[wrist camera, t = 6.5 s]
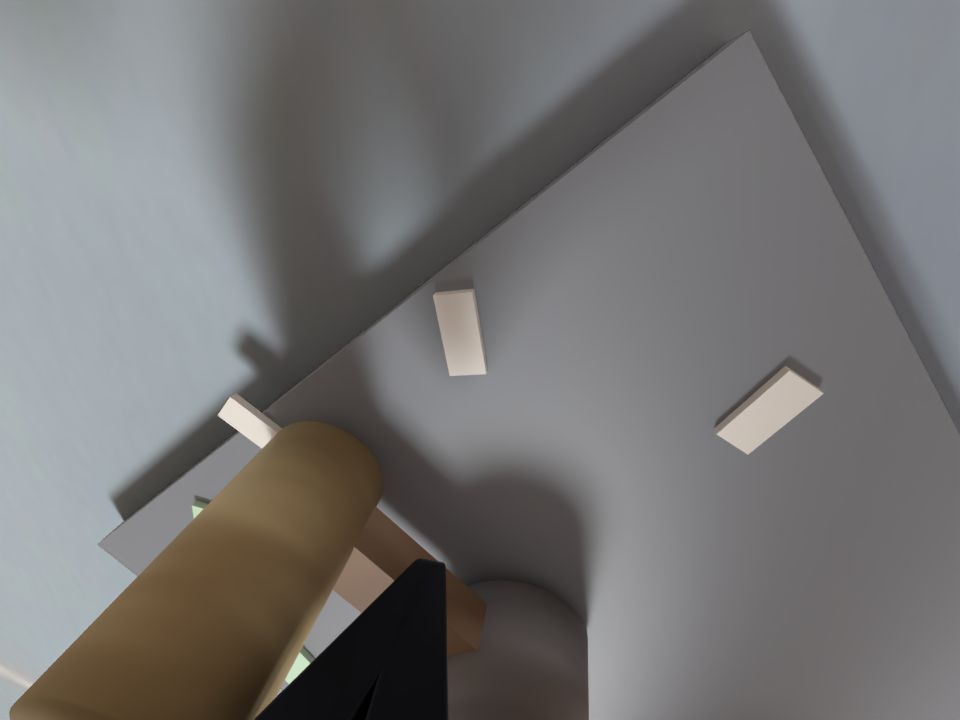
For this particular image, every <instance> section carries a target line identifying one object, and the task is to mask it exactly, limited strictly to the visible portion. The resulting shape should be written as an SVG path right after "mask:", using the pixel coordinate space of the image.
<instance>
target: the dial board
mask: <svg viewBox="0 0 960 720" xmlns="http://www.w3.org/2000/svg"><path fill="white" fill-rule="evenodd" d="M217 416H219V417H220V418H221V419H223V420H224V421H225V422H227V423H228V424H229V425H231V426H232V427H233V428H235V429H236V430H238V431H237V432H236V433H235V434H233V435H232V436H231V437H230V438H228V439H227V440H226V441H224V442H223V443H222V444H221V445H219V446H218V447H217V448H216V449H214V450H213V451H212V452H211V453H209V454H208V455H207V456H206V457H204V458H203V459H202V460H201V461H199V462H198V463H197V464H195V465H194V466H193V467H192V468H190V469H189V470H188V471H187V472H185V473H184V474H183V475H182V476H180V477H179V478H178V479H177V480H175V481H174V482H173V483H172V484H170V485H169V486H168V487H166V488H165V489H164V490H163V491H161V492H160V493H159V494H158V495H156V496H155V497H154V498H153V499H151V500H150V501H149V502H148V503H146V504H145V505H144V506H143V507H141V508H140V509H139V510H137V511H136V512H135V513H134V514H132V515H131V516H130V517H129V518H127V519H126V520H125V521H124V522H122V523H121V524H120V525H119V526H118V527H117V528H116V529H114V530H113V531H112V532H111V533H110V534H109V535H108V536H106V537H105V538H104V539H103V540H102V541H101V542H100V543H98V544H97V545H99V546H100V547H101V548H102V549H104V550H105V551H106V552H107V553H109V554H110V555H111V556H113V557H114V558H115V559H116V560H118V561H119V562H120V563H121V564H123V565H124V566H125V567H127V568H128V569H129V570H130V571H132V572H133V573H134V574H135V575H137V576H139V575H140V574H141V573H142V572H143V571H144V570H145V569H146V568H147V567H148V566H149V565H150V564H151V562H152V561H153V560H154V559H155V558H156V557H157V556H158V555H159V554H160V553H161V552H162V551H163V550H164V549H165V548H166V547H167V546H168V545H169V544H170V543H171V542H172V541H173V540H174V539H175V538H176V537H177V536H178V535H179V534H180V533H181V532H182V531H183V530H184V529H185V527H186V526H187V525H188V524H189V523H190V522H191V521H192V520H193V519H194V518H195V517H196V516H197V515H198V514H199V513H200V512H201V511H202V510H203V509H204V508H205V507H206V506H207V505H208V504H209V503H210V502H211V501H212V500H213V499H214V498H215V497H216V496H217V495H218V494H219V492H220V491H221V490H222V489H223V488H224V487H225V486H226V485H227V484H228V483H229V482H230V481H231V480H232V479H233V478H234V477H235V476H236V475H237V474H238V473H239V472H240V471H241V470H242V469H243V468H244V467H245V466H246V465H247V464H248V463H249V462H250V461H251V460H252V459H253V457H254V456H255V455H256V454H257V453H258V452H259V451H260V450H261V449H262V448H263V447H264V446H265V445H266V444H267V443H268V442H269V441H270V440H271V439H272V438H273V437H274V436H275V435H276V434H277V433H278V432H279V431H280V430H281V429H283V428H284V427H286V426H288V425H290V424H293V423H296V422H302V421H315V422H322V423H326V424H330V425H333V426H336V427H338V428H340V429H342V430H344V431H346V432H348V433H350V434H351V435H353V436H354V437H356V438H357V439H358V440H359V441H361V442H362V443H363V444H364V445H365V446H366V447H367V448H368V449H369V450H370V452H371V453H372V454H373V455H374V457H375V459H376V460H377V462H378V464H379V466H380V468H381V471H382V474H383V480H384V489H383V494H382V497H381V499H380V501H379V503H378V505H377V508H378V509H379V510H381V511H382V512H383V513H384V514H385V515H386V516H387V517H389V518H390V519H391V520H392V521H393V522H394V523H395V524H397V525H398V526H399V527H400V528H401V529H402V530H403V531H404V532H406V533H407V534H408V535H409V536H410V537H411V538H412V539H414V540H415V541H416V542H417V543H418V544H419V545H420V546H422V547H423V548H424V549H425V550H426V551H427V552H428V553H430V554H431V555H432V556H433V557H434V558H435V559H436V560H437V561H439V562H443V563H445V565H446V568H447V569H448V570H449V571H450V572H451V573H452V574H453V575H455V576H456V577H457V578H458V579H459V580H460V581H461V582H463V583H464V584H465V585H466V586H467V587H468V586H470V585H473V584H476V583H479V582H484V581H491V580H509V581H517V582H522V583H527V584H531V585H534V586H537V587H540V588H542V589H544V590H547V591H549V592H551V593H553V594H555V595H557V596H558V597H560V598H561V599H563V600H564V601H565V602H567V603H568V604H569V605H570V606H571V607H572V608H573V609H574V610H575V611H576V612H577V613H578V614H579V616H580V617H581V618H582V620H583V622H584V624H585V627H586V630H587V635H588V686H589V720H960V434H959V432H958V430H957V428H956V426H955V424H954V422H953V420H952V418H951V416H950V414H949V412H948V410H947V409H946V407H945V405H944V403H943V401H942V399H941V397H940V395H939V393H938V391H937V389H936V387H935V386H934V384H933V382H932V380H931V378H930V376H929V374H928V372H927V370H926V368H925V366H924V364H923V363H922V361H921V359H920V357H919V355H918V353H917V351H916V349H915V347H914V345H913V343H912V341H911V340H910V338H909V336H908V334H907V332H906V330H905V328H904V326H903V324H902V322H901V320H900V318H899V317H898V315H897V313H896V311H895V309H894V307H893V305H892V303H891V301H890V299H889V297H888V295H887V294H886V292H885V290H884V288H883V286H882V284H881V282H880V280H879V278H878V276H877V274H876V272H875V271H874V269H873V267H872V265H871V263H870V261H869V259H868V257H867V255H866V253H865V251H864V249H863V247H862V246H861V244H860V242H859V240H858V238H857V236H856V234H855V232H854V230H853V228H852V226H851V224H850V223H849V221H848V219H847V217H846V215H845V213H844V211H843V209H842V207H841V205H840V203H839V201H838V200H837V198H836V196H835V194H834V192H833V190H832V188H831V186H830V184H829V182H828V180H827V178H826V177H825V175H824V173H823V171H822V169H821V167H820V165H819V163H818V161H817V159H816V157H815V155H814V154H813V152H812V150H811V148H810V146H809V144H808V142H807V140H806V138H805V136H804V134H803V132H802V131H801V129H800V127H799V125H798V123H797V121H796V119H795V117H794V115H793V113H792V111H791V109H790V108H789V106H788V104H787V102H786V100H785V98H784V96H783V94H782V92H781V90H780V88H779V86H778V84H777V83H776V81H775V79H774V77H773V75H772V73H771V71H770V69H769V67H768V65H767V63H766V61H765V60H764V58H763V56H762V54H761V52H760V50H759V48H758V46H757V44H756V42H755V40H754V38H753V37H752V35H751V33H750V31H747V32H745V33H743V34H741V35H739V36H738V37H736V38H734V39H732V40H730V41H729V42H727V43H726V44H725V45H724V46H722V47H721V48H720V49H719V50H717V51H716V52H715V53H714V54H712V55H711V56H710V57H709V58H707V59H706V60H705V61H704V62H702V63H701V64H700V65H698V66H697V67H696V68H695V69H693V70H692V71H691V72H690V73H688V74H687V75H686V76H685V77H683V78H682V79H681V80H680V81H678V82H677V83H676V84H675V85H673V86H672V87H671V88H669V89H668V90H667V91H666V92H664V93H663V94H662V95H661V96H659V97H658V98H657V99H656V100H654V101H653V102H652V103H651V104H649V105H648V106H647V107H646V108H644V109H643V110H642V111H640V112H639V113H638V114H637V115H635V116H634V117H633V118H632V119H630V120H629V121H628V122H627V123H625V124H624V125H623V126H622V127H620V128H619V129H618V130H617V131H615V132H614V133H613V134H612V135H610V136H609V137H608V138H606V139H605V140H604V141H603V142H601V143H600V144H599V145H598V146H596V147H595V148H594V149H593V150H591V151H590V152H589V153H588V154H586V155H585V156H584V157H583V158H581V159H580V160H579V161H577V162H576V163H575V164H574V165H572V166H571V167H570V168H569V169H567V170H566V171H565V172H564V173H562V174H561V175H560V176H559V177H557V178H556V179H555V180H554V181H552V182H551V183H550V184H548V185H547V186H546V187H545V188H543V189H542V190H541V191H540V192H538V193H537V194H536V195H535V196H533V197H532V198H531V199H530V200H528V201H527V202H526V203H525V204H523V205H522V206H521V207H519V208H518V209H517V210H516V211H514V212H513V213H512V214H511V215H509V216H508V217H507V218H506V219H504V220H503V221H502V222H501V223H499V224H498V225H497V226H496V227H494V228H493V229H492V230H490V231H489V232H488V233H487V234H485V235H484V236H483V237H482V238H480V239H479V240H478V241H477V242H475V243H474V244H473V245H472V246H470V247H469V248H468V249H467V250H465V251H464V252H463V253H461V254H460V255H459V256H458V257H456V258H455V259H454V260H453V261H451V262H450V263H449V264H448V265H446V266H445V267H444V268H443V269H441V270H440V271H439V272H438V273H436V274H435V275H434V276H432V277H431V278H430V279H429V280H427V281H426V282H425V283H424V284H422V285H421V286H420V287H419V288H417V289H416V290H415V291H414V292H412V293H411V294H410V295H409V296H407V297H406V298H405V299H403V300H402V301H401V302H400V303H398V304H397V305H396V306H395V307H393V308H392V309H391V310H390V311H388V312H387V313H386V314H385V315H383V316H382V317H381V318H380V319H378V320H377V321H376V322H374V323H373V324H372V325H371V326H369V327H368V328H367V329H366V330H364V331H363V332H362V333H361V334H359V335H358V336H357V337H356V338H354V339H353V340H352V341H351V342H349V343H348V344H347V345H345V346H344V347H343V348H342V349H340V350H339V351H338V352H337V353H335V354H334V355H333V356H332V357H330V358H329V359H328V360H327V361H325V362H324V363H323V364H322V365H320V366H319V367H318V368H316V369H315V370H314V371H313V372H311V373H310V374H309V375H308V376H306V377H305V378H304V379H303V380H301V381H300V382H299V383H298V384H296V385H295V386H294V387H293V388H291V389H290V390H289V391H287V392H286V393H285V394H284V395H282V396H281V397H280V398H279V399H277V400H276V401H275V402H274V403H272V404H271V405H270V406H269V407H267V408H266V409H265V410H264V411H262V412H260V411H259V410H257V409H256V408H255V407H253V406H252V405H251V404H250V403H248V402H247V401H246V400H244V399H243V398H242V397H240V396H239V395H238V394H236V393H235V394H233V395H232V396H231V397H230V398H229V399H228V401H227V402H226V404H225V405H224V407H223V408H222V410H221V411H220V412H219V414H218V415H217ZM360 614H361V612H360V611H358V610H357V609H356V608H355V607H353V606H352V605H351V604H350V603H348V602H347V601H346V600H345V599H344V598H342V597H341V596H340V595H339V594H337V593H336V592H335V591H334V590H332V592H331V594H330V596H329V598H328V599H327V601H326V603H325V605H324V607H323V609H322V611H321V613H320V615H319V616H318V618H317V620H316V622H315V624H314V626H313V628H312V630H311V632H310V633H309V635H308V637H307V639H306V641H305V643H304V645H303V647H302V649H301V651H300V652H299V654H298V656H297V658H296V660H295V662H294V664H293V666H292V668H291V669H290V671H289V673H288V675H287V677H286V679H285V681H284V683H283V685H282V686H281V688H280V689H281V690H282V691H283V690H284V689H285V688H286V687H287V686H288V685H289V684H290V683H291V682H292V681H293V680H294V679H295V678H296V677H297V676H298V675H299V674H300V673H301V672H302V671H303V670H304V669H305V668H306V667H307V666H308V665H309V664H310V663H311V662H312V661H313V660H314V659H315V658H316V657H317V656H318V655H319V654H321V653H322V652H323V651H324V650H325V649H326V648H327V647H328V646H329V645H330V644H331V643H332V642H333V641H334V640H335V639H336V638H337V637H338V636H339V635H340V634H341V633H342V632H343V631H344V630H345V629H346V628H347V627H348V626H349V625H350V624H351V623H352V622H353V621H354V620H355V619H356V618H357V617H358V616H359V615H360Z"/></svg>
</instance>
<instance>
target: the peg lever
mask: <svg viewBox="0 0 960 720" xmlns="http://www.w3.org/2000/svg"><path fill="white" fill-rule="evenodd" d="M383 489H384V480H383V474H382V471H381V468H380V466H379V464H378V462H377V460H376V459H375V457H374V455H373V454H372V453H371V452H370V450H369V449H368V448H367V447H366V446H365V445H364V444H363V443H362V442H361V441H359V440H358V439H357V438H356V437H354V436H353V435H351V434H350V433H348V432H346V431H344V430H342V429H340V428H338V427H336V426H333V425H330V424H326V423H322V422H315V421H302V422H296V423H293V424H290V425H288V426H286V427H284V428H283V429H281V430H280V431H279V432H278V433H277V434H276V435H275V436H274V437H273V438H272V439H271V440H270V441H269V442H268V443H267V444H266V445H265V446H264V447H263V448H262V449H261V450H260V451H259V452H258V453H257V454H256V455H255V456H254V457H253V459H252V460H251V461H250V462H249V463H248V464H247V465H246V466H245V467H244V468H243V469H242V470H241V471H240V472H239V473H238V474H237V475H236V476H235V477H234V478H233V479H232V480H231V481H230V482H229V483H228V484H227V485H226V486H225V487H224V488H223V489H222V490H221V491H220V492H219V494H218V495H217V496H216V497H215V498H214V499H213V500H212V501H211V502H210V503H209V504H208V505H207V506H206V507H205V508H204V509H203V510H202V511H201V512H200V513H199V514H198V515H197V516H196V517H195V518H194V519H193V520H192V521H191V522H190V523H189V524H188V525H187V526H186V527H185V529H184V530H183V531H182V532H181V533H180V534H179V535H178V536H177V537H176V538H175V539H174V540H173V541H172V542H171V543H170V544H169V545H168V546H167V547H166V548H165V549H164V550H163V551H162V552H161V553H160V554H159V555H158V556H157V557H156V558H155V559H154V560H153V561H152V562H151V564H150V565H149V566H148V567H147V568H146V569H145V570H144V571H143V572H142V573H141V574H140V575H139V576H138V577H137V578H136V579H135V580H134V581H133V582H132V583H131V584H130V585H129V586H128V587H127V588H126V589H125V590H124V591H123V592H122V593H121V594H120V595H119V596H118V597H117V599H116V600H115V601H114V602H113V603H112V604H111V605H110V606H109V607H108V608H107V609H106V610H105V611H104V612H103V613H102V614H101V615H100V616H99V617H98V618H97V619H96V620H95V621H94V622H93V623H92V624H91V625H90V626H89V627H88V628H87V629H86V630H85V631H84V632H83V634H82V635H81V636H80V637H79V638H78V639H77V640H76V641H75V642H74V643H73V644H72V645H71V646H70V647H69V648H68V649H67V650H66V651H65V652H64V653H63V654H62V655H61V656H60V657H59V658H58V659H57V660H56V661H55V662H54V663H53V664H52V665H51V666H50V667H49V669H48V670H47V671H46V672H45V673H44V674H43V675H42V676H41V677H40V678H39V679H38V680H37V681H36V682H35V683H34V684H33V685H32V686H31V687H30V688H29V689H28V690H27V691H26V692H25V693H24V694H23V695H22V696H21V697H20V698H19V699H18V700H17V701H16V702H15V703H14V705H13V706H12V707H11V709H10V720H254V719H255V718H256V717H257V716H258V715H259V714H260V713H261V712H262V711H263V710H264V709H265V708H266V707H267V706H268V705H269V704H270V703H271V702H272V701H273V700H274V699H275V698H276V696H277V694H278V692H279V690H280V688H281V686H282V685H283V683H284V681H285V679H286V677H287V675H288V673H289V671H290V669H291V668H292V666H293V664H294V662H295V660H296V658H297V656H298V654H299V652H300V651H301V649H302V647H303V645H304V643H305V641H306V639H307V637H308V635H309V633H310V632H311V630H312V628H313V626H314V624H315V622H316V620H317V618H318V616H319V615H320V613H321V611H322V609H323V607H324V605H325V603H326V601H327V599H328V598H329V596H330V594H331V592H332V590H334V591H335V592H336V593H337V594H339V595H340V596H341V597H342V598H344V599H345V600H346V601H347V602H348V603H350V604H351V605H352V606H353V607H355V608H356V609H357V610H358V611H360V612H361V613H362V612H363V611H364V610H365V609H366V608H367V607H368V606H369V605H370V604H371V603H372V602H373V601H374V600H375V599H376V598H377V597H378V596H379V595H380V594H381V593H382V592H383V591H384V590H385V589H386V588H388V587H389V586H390V585H391V584H392V583H393V582H394V581H395V580H396V579H397V578H398V577H399V576H400V575H401V574H402V573H403V572H404V571H405V570H406V569H407V568H408V567H409V566H410V565H411V564H412V563H413V562H414V561H415V560H416V559H419V558H423V559H428V560H433V561H437V560H436V559H435V558H434V557H433V556H432V555H431V554H430V553H428V552H427V551H426V550H425V549H424V548H423V547H422V546H420V545H419V544H418V543H417V542H416V541H415V540H414V539H412V538H411V537H410V536H409V535H408V534H407V533H406V532H404V531H403V530H402V529H401V528H400V527H399V526H398V525H397V524H395V523H394V522H393V521H392V520H391V519H390V518H389V517H387V516H386V515H385V514H384V513H383V512H382V511H381V510H379V509H378V508H377V505H378V503H379V501H380V499H381V497H382V494H383ZM446 598H447V654H448V710H449V720H589V686H588V635H587V630H586V627H585V624H584V622H583V620H582V618H581V617H580V616H579V614H578V613H577V612H576V611H575V610H574V609H573V608H572V607H571V606H570V605H569V604H568V603H567V602H565V601H564V600H563V599H561V598H560V597H558V596H557V595H555V594H553V593H551V592H549V591H547V590H544V589H542V588H540V587H537V586H534V585H531V584H527V583H522V582H517V581H509V580H491V581H484V582H479V583H476V584H473V585H470V586H468V587H467V586H466V585H465V584H464V583H463V582H461V581H460V580H459V579H458V578H457V577H456V576H455V575H453V574H452V573H451V572H450V571H449V570H448V569H447V568H446Z"/></svg>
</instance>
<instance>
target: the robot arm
mask: <svg viewBox="0 0 960 720" xmlns="http://www.w3.org/2000/svg"><path fill="white" fill-rule="evenodd" d="M254 720H449V710H448V654H447V598H446V565H445V563H443V562H439V561H433V560H428V559H423V558H419V559H416V560H415V561H414V562H413V563H412V564H411V565H410V566H409V567H408V568H407V569H406V570H405V571H404V572H403V573H402V574H401V575H400V576H399V577H398V578H397V579H396V580H395V581H394V582H393V583H392V584H391V585H390V586H389V587H388V588H386V589H385V590H384V591H383V592H382V593H381V594H380V595H379V596H378V597H377V598H376V599H375V600H374V601H373V602H372V603H371V604H370V605H369V606H368V607H367V608H366V609H365V610H364V611H363V612H362V613H361V614H360V615H359V616H358V617H357V618H356V619H355V620H354V621H353V622H352V623H351V624H350V625H349V626H348V627H347V628H346V629H345V630H344V631H343V632H342V633H341V634H340V635H339V636H338V637H337V638H336V639H335V640H334V641H333V642H332V643H331V644H330V645H329V646H328V647H327V648H326V649H325V650H324V651H323V652H322V653H321V654H319V655H318V656H317V657H316V658H315V659H314V660H313V661H312V662H311V663H310V664H309V665H308V666H307V667H306V668H305V669H304V670H303V671H302V672H301V673H300V674H299V675H298V676H297V677H296V678H295V679H294V680H293V681H292V682H291V683H290V684H289V685H288V686H287V687H286V688H285V689H284V690H283V691H282V692H281V693H280V694H279V695H278V696H277V697H276V698H275V699H274V700H273V701H272V702H271V703H270V704H269V705H268V706H267V707H266V708H265V709H264V710H263V711H262V712H261V713H260V714H259V715H258V716H257V717H256V718H255V719H254Z"/></svg>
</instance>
